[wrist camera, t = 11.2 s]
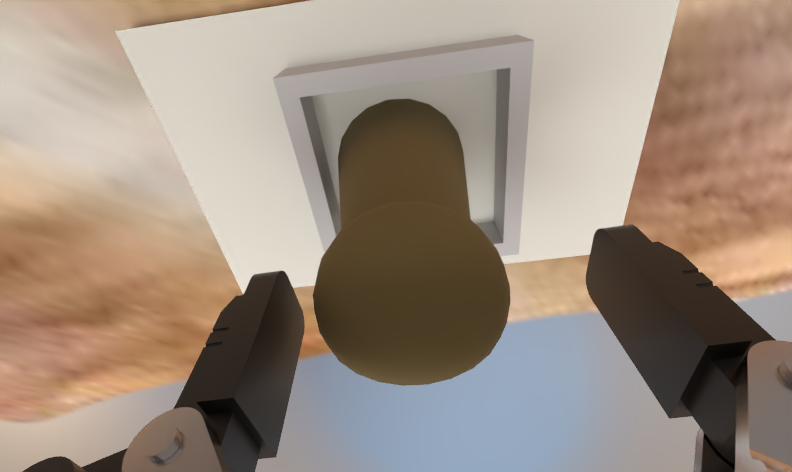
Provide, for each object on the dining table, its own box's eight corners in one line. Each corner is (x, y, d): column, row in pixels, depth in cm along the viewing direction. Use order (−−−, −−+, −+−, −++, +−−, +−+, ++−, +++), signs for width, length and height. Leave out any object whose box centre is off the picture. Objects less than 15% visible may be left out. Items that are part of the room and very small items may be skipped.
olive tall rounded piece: (487, 131, 17) (604, 297, 8) (427, 232, 20) (462, 435, 11) (365, 74, 15) (334, 194, 6) (321, 191, 19) (256, 388, 9)
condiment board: (132, 28, 15) (79, 36, 13) (673, -56, 14) (739, -67, 12) (248, 280, 23) (231, 317, 21) (605, 239, 22) (635, 274, 19)
